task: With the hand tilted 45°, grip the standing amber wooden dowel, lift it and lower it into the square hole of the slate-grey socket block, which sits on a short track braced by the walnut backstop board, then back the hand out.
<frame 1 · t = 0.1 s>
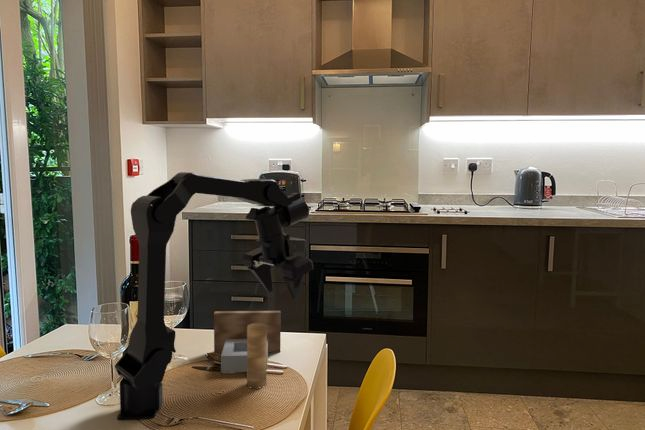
hand: (283, 295, 109), 15 cm above the table, tool pointing down, fingers open, 9 cm apart
dowel: (256, 384, 97), on the table
backstop board: (247, 351, 114), on the table
socket block: (245, 355, 107), point 2 cm above the table, slide at 0.0 cm
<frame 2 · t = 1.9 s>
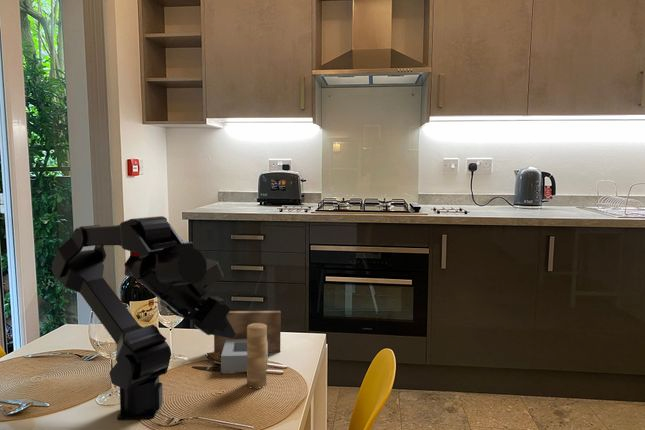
hand: (221, 329, 91), 14 cm above the table, tool tilted 45°, fingers open, 9 cm apart
nothing on the table moved.
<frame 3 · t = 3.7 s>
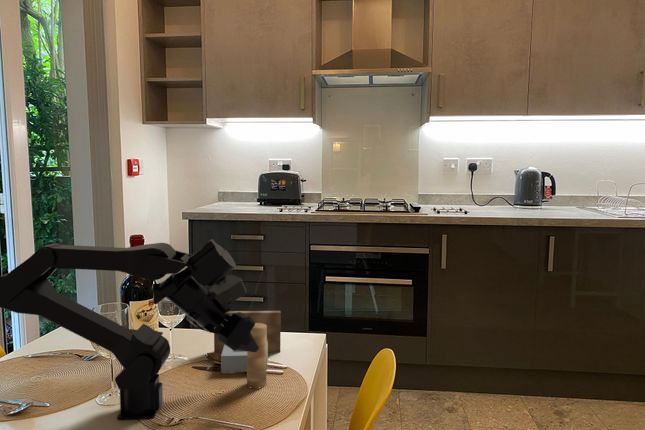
hand: (245, 342, 94), 10 cm above the table, tool tilted 45°, fingers open, 9 cm apart
nothing on the table moved.
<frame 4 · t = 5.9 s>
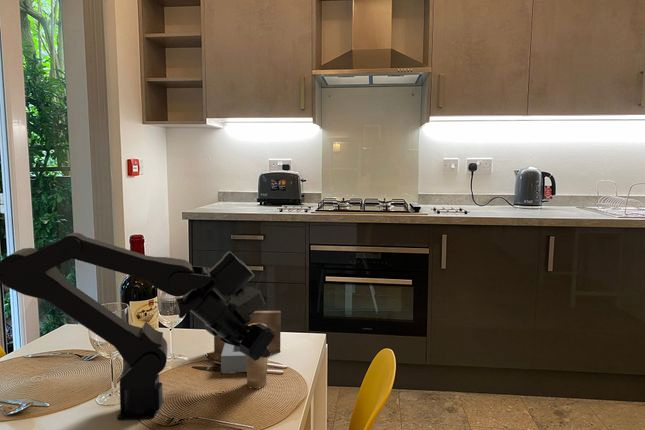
hand: (262, 352, 97), 7 cm above the table, tool tilted 45°, fingers closed on dowel, 4 cm apart
dowel: (256, 384, 97), on the table, touching gripper
everything else where it was.
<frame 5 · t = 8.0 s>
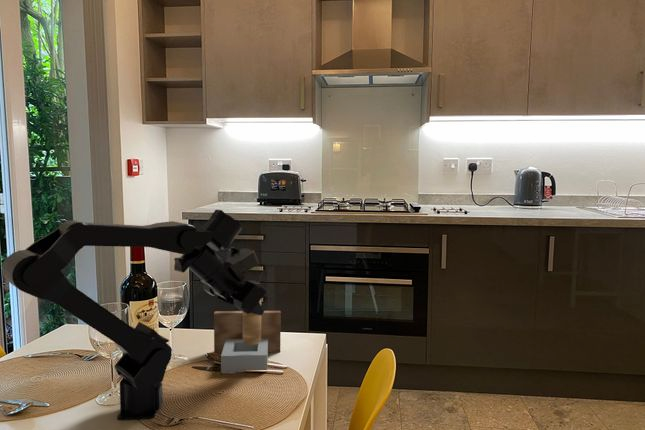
hand: (257, 310, 102), 14 cm above the table, tool tilted 45°, fingers closed on dowel, 4 cm apart
dowel: (251, 341, 102), point 7 cm above the table, touching gripper
everything else where it was.
when the fingers open (10 cm above the table, at t = 10.4 s): dowel drops 3 cm, resting in socket block.
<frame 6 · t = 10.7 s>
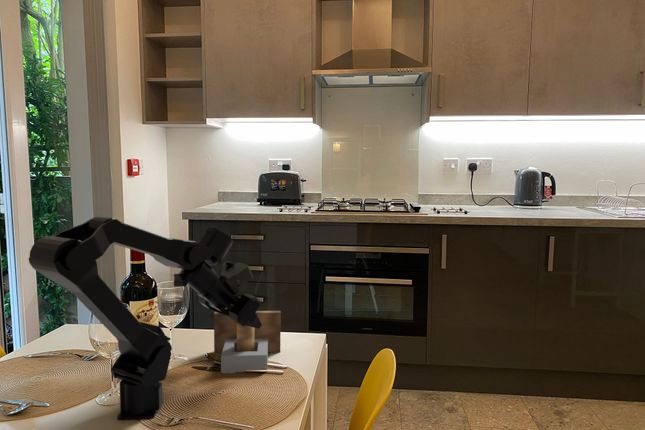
hand: (251, 322, 107), 10 cm above the table, tool tilted 45°, fingers open, 8 cm apart
dowel: (245, 363, 107), resting in socket block
everything else where it was.
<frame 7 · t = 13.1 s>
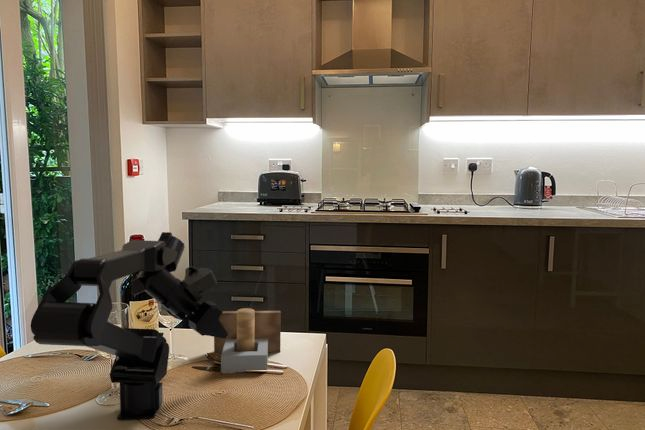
hand: (216, 330, 101), 10 cm above the table, tool tilted 45°, fingers open, 9 cm apart
nothing on the table moved.
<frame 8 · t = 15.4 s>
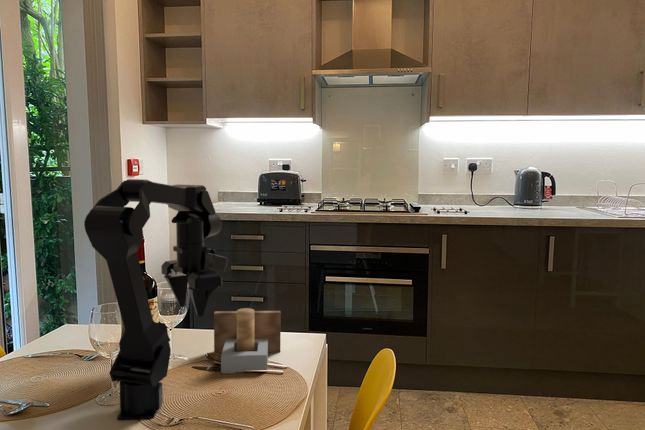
hand: (190, 311, 103), 13 cm above the table, tool pointing down, fingers open, 9 cm apart
nothing on the table moved.
at the end: dowel 0.0 cm off-centre on the socket block, point 0.0 cm above the socket block's base; dowel tilted 0°; the gripper is holding nothing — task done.
